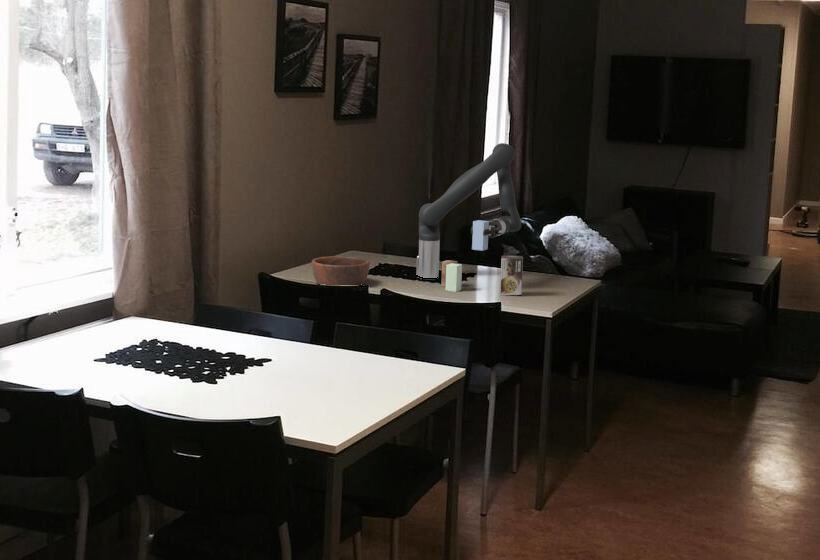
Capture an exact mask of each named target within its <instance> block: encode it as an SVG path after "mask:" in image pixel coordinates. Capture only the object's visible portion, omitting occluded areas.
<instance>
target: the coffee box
mask: <svg viewBox="0 0 820 560" xmlns="http://www.w3.org/2000/svg"><path fill="white" fill-rule="evenodd" d="M500 261H501V262H500V263H501V264H500V265H501V266H500V292H499V295H500V294H523V266H524V265H523V263H524V256H523V255H501V259H500Z"/></svg>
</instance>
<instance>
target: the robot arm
mask: <svg viewBox="0 0 820 560" xmlns="http://www.w3.org/2000/svg"><path fill="white" fill-rule="evenodd" d="M515 155H516V153H515V148H514V147H513V146H512V145H510V144H508V143H504V142H501V143H498V144H496V145H495V146H494V147H493V149H492V152H491V154H490V155H489V156H487V158H485V159H484V160H483V161H482V162H480V163H479V164H476V165H475V166H473V167H471V168H470V169H468V170H467V171H465V172H464V173H463V174H461V175H460V176H459V177H458V178H456V179H455V181H454V182H453V183H452V184H451V185H450V186H449V187H448V189H447V190H446V191H445V192H444V193H443V194H442V195H441V196H440V197H438V199H436V200H435V201H433V202H432V203H431V202H430V203H425V204H423V205H422V206H421V207H420V209H419V212H418V255H417V256H416V270H415V271H416V272H415V273H416V275H418V276H420V277H423V278H437V277H438V278H439V275H440V274H439V269H440V268H439V267H440V244H441V243H440V239H441V237H440V236H441V234H440V222H441V220H443V219H444V218H445V216H447V214H449V212H450V211H451V210H452V209H454V208H455V207H456V206H458V205H460V203H462V202H463V201H465V200H466V199H467V198H468V197H470V196H472V194H474V193H475V192H476V191H477V190H478V189H480V188H481V187H482V186H483V185H484V184H485V183H486V182H487V181H488V180H489V179H490V178H491V177H492V176H493V175H495V174H497V175H496V176H497V183H498V186H497V187H498V197H499V208H500V210H501V211H502V212H507V213H508V214H509V215H504V216H500V217H499V218H494V219H489V220H488V221H489V228H488V230H484V231H483V236H486V235H488V239H490V238H496V237H498V236H501V235H504V234H507V233H508V232H512V233H514V232H518V231H520V230H521V228H522V219H521V217H520V214H519V211H518V208H517V203H516V194H515V188H514V187H515V186H514V183H513V179H512V171H511V170H512V168H511V166H512V165H511V164H512V161H513V160H514V158H515V157H516V156H515ZM470 235H473V225H472V226H471V227H470ZM416 275H415V276H416ZM438 278H437V279H438Z"/></svg>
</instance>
